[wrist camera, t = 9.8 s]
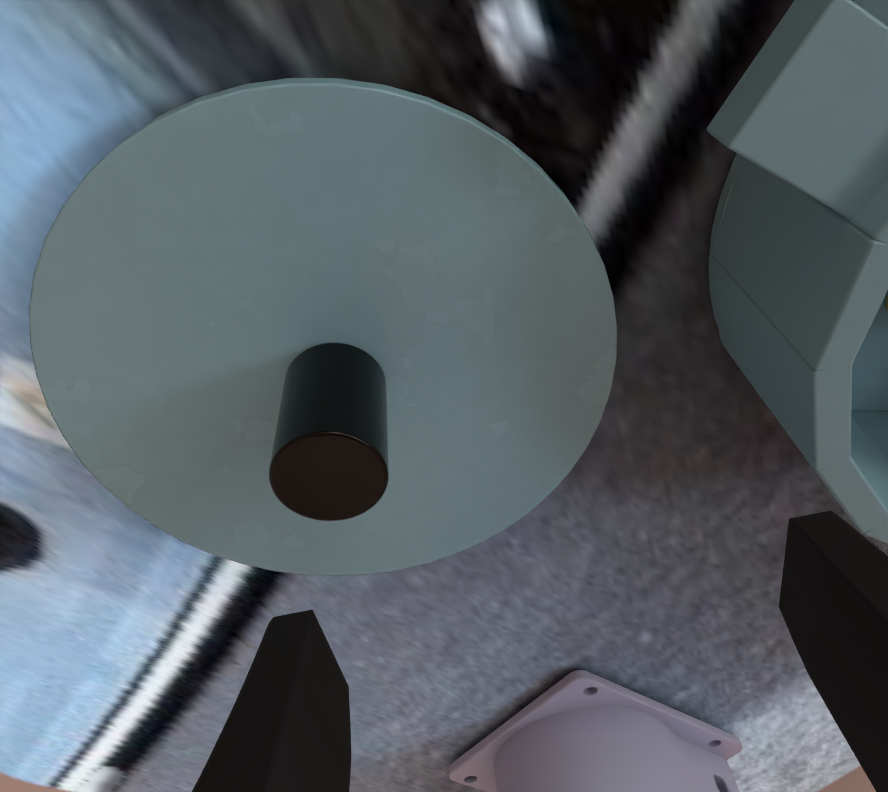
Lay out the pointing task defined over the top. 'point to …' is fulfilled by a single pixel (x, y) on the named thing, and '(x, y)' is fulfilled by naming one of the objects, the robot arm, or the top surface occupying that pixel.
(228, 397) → the lid
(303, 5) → the top surface
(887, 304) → the block
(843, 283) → the pot
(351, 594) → the top surface
